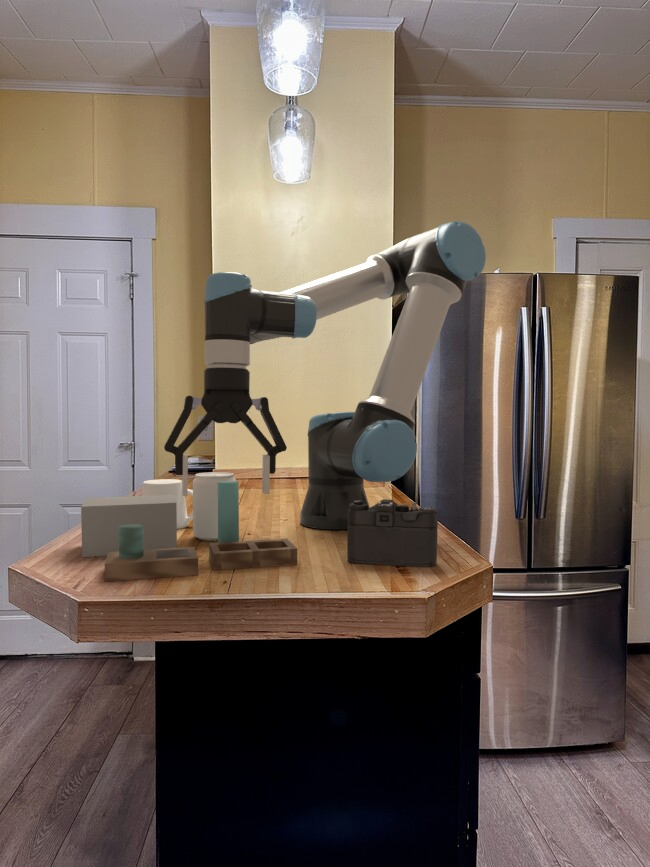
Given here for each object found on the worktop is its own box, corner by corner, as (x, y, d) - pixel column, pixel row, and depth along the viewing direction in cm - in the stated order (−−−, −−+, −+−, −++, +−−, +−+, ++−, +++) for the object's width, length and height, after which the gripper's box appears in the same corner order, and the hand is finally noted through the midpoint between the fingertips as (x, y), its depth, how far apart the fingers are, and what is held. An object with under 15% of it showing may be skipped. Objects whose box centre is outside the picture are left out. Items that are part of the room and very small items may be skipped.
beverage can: (227, 542, 113) (227, 477, 113) (186, 540, 115) (185, 476, 115) (242, 533, 121) (242, 472, 121) (203, 532, 123) (202, 471, 122)
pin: (237, 549, 108) (237, 480, 108) (240, 554, 105) (239, 483, 104) (217, 550, 107) (216, 481, 107) (219, 555, 104) (218, 483, 103)
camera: (436, 552, 106) (437, 494, 106) (437, 569, 96) (438, 505, 95) (353, 549, 109) (353, 492, 108) (345, 565, 98) (345, 502, 98)
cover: (174, 539, 116) (174, 494, 116) (176, 551, 107) (176, 502, 106) (87, 544, 112) (87, 497, 112) (82, 557, 103) (81, 506, 102)
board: (194, 562, 99) (194, 518, 99) (198, 574, 92) (197, 527, 92) (108, 568, 96) (107, 522, 96) (105, 581, 89) (104, 532, 88)
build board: (287, 553, 105) (287, 538, 105) (297, 564, 98) (297, 548, 98) (209, 558, 102) (209, 543, 102) (213, 570, 95) (213, 553, 95)
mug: (133, 483, 125) (146, 478, 132) (133, 530, 125) (147, 522, 133) (192, 484, 124) (202, 479, 132) (193, 530, 124) (203, 523, 132)
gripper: (294, 371, 111) (293, 489, 112) (149, 366, 105) (149, 492, 106) (304, 368, 104) (302, 495, 105) (149, 363, 98) (149, 498, 98)
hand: (225, 494), depth 105 cm, fingers open, 13 cm apart
